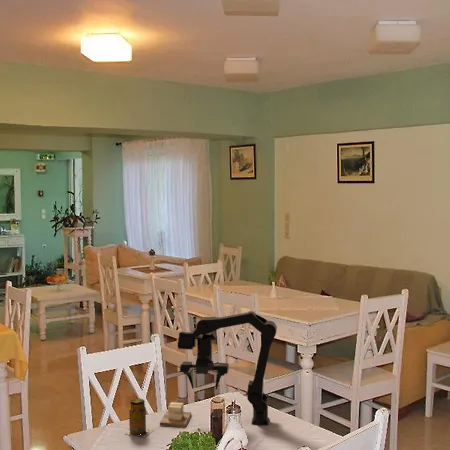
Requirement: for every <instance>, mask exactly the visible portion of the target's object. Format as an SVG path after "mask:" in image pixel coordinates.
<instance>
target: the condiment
mask: <svg viewBox="0 0 450 450" xmlns="http://www.w3.org/2000/svg"><path fill="white" fill-rule="evenodd" d="M145 402H146V401H145V399H143V398H133V399H131V400H130V402H129V404H130V405H129V406H130V407H129V411H128V413H129V417H128V418H129V419H128V420H129V424H128V425H129V428H128V429H129V431H130V432H128V431H126V432H125V433H124V434H125V435H128V436H135V437H136V436H137V437H143V438H145V437H147V436H149V435H150V434H151V433H152V432H154V431H155V430H154V429H150V428H147V426H146V425H147V420H146V416H147V412H146V409H147V408H146V406H145V405H146V404H145ZM146 430H147V431H148V432H147V431H146ZM140 434H141V435H140Z"/></svg>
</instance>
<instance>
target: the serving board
mask: <svg viewBox="0 0 450 450" xmlns="http://www.w3.org/2000/svg"><path fill="white" fill-rule="evenodd" d="M191 417H192V412H191V411H189V412H188V411H184V415H183V417H182V419H181V420H168V410H167V411H166V412H165V414H164V415H163V416H162V418H161V420H160V421H159V426H160V427H177V428H186V427H187V425H188V422H189V421H190V419H191Z"/></svg>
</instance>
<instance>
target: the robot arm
mask: <svg viewBox="0 0 450 450" xmlns="http://www.w3.org/2000/svg"><path fill="white" fill-rule="evenodd" d="M246 324H249V325H251V326H252V327H253V328H254V329H256V330H257V331H258V332H260V350H259V354H258V359H257V364H256V369H255V373H254V377H253V380H250V379H249V381H248V385H247V390H246V394H245V395H246V396H247V398H246V399H247V401H248V402H249V403H250V404H251V406H252V410H253V411H252V412H253V413H252V415H253V416H252V420H251V424H252V425H262V426H264V425H265V426H268V425H269V424H270V423H269V422H270V417H269V405H268V404H269V396H267V395H266V393H265V392H264V380H265V379H264V378H265V375H266V374H265V373H266V368H267V364H268V359H269V354H270V350H271V347H272V344H273V342H274V339H275V337H276V334H277V329H278V326H277V324H276V323H275V322H274V321H272V320H267V319H266V318H265V317H263V316H262V315H258V314H257V313H256V312H255V311H251V310H250V311H248V312H243V313H238V314H231V315H227V316H226V315H225V316H220V317H219V316H204V317H201V318H200V319H199V320H198V322H197V323H196V325H195V327H196V328H195V329H194V330H193V331H192V332H187V331H180V332H178V339H177V349H178V350H191V351H192V350H194V348H196V352H197V353H196V354H197V355H196V359H195V364H193V361H183V362H182V363H181V364H180V365H179V372H180V373H183V375H186V376H187V378H188V380H189V383H190V387H191V388H192V389H193V390H194V388H195V376H194V371H195V374H197V375H199V374H200V375H208V374H209V372H210V371H216V372H217V373H216V377H215V390H218V387H219V384H220V380H221V378H222V377H224V376H225V375H227V374H228V373H229V371H230V365H229V364H230V363H228V362H218V364H216V365H215V364H214V360H213V340H215V341H216V339H217V338H218V336H217V335H216V334H215V333H214V332H215V331H217V330H221V329H223V328H229V327H234V326H235V327H236V326H240V325H246Z"/></svg>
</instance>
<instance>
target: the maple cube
mask: <svg viewBox="0 0 450 450" xmlns="http://www.w3.org/2000/svg"><path fill="white" fill-rule="evenodd" d="M167 411H168V420H181V419H182V417H183V415H184V412H185V411H184V402H172V401H171V402H170V403H169V405H168V407H167Z"/></svg>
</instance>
